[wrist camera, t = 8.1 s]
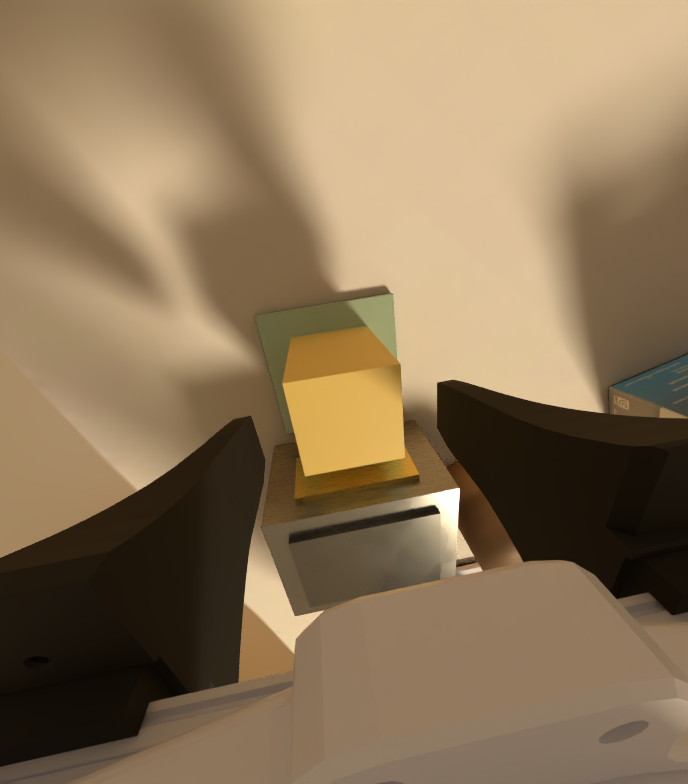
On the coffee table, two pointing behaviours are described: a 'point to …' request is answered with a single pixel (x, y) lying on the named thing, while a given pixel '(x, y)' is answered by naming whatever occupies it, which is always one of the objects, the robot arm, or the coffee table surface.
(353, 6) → the coffee table surface
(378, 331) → the pad
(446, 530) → the box
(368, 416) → the ochre block
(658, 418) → the robot arm
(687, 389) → the label tape box
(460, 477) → the walnut cylinder
